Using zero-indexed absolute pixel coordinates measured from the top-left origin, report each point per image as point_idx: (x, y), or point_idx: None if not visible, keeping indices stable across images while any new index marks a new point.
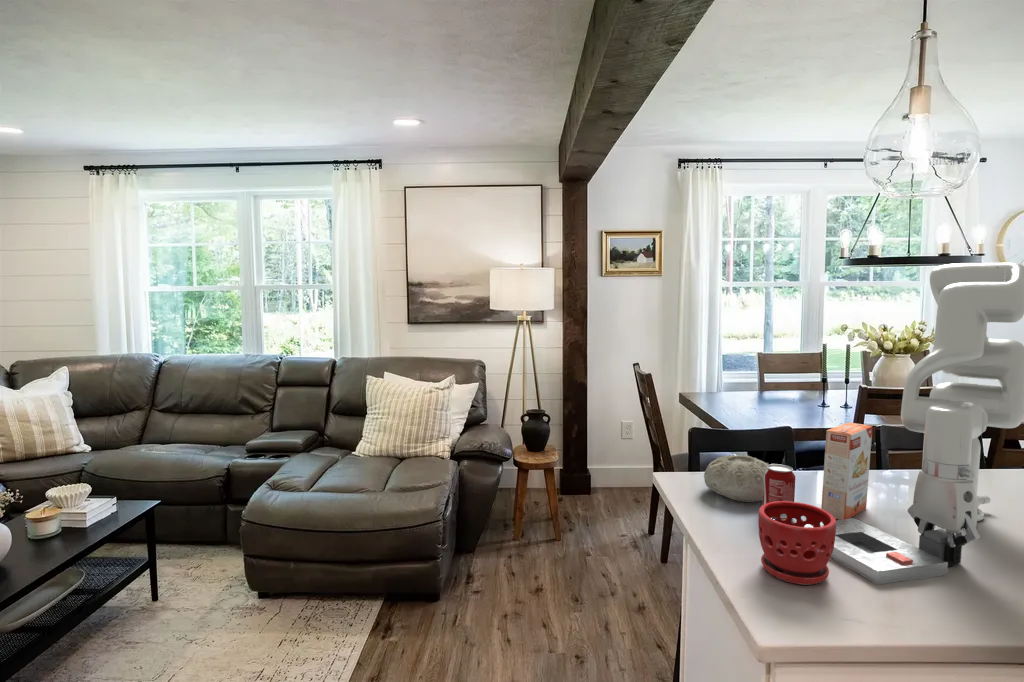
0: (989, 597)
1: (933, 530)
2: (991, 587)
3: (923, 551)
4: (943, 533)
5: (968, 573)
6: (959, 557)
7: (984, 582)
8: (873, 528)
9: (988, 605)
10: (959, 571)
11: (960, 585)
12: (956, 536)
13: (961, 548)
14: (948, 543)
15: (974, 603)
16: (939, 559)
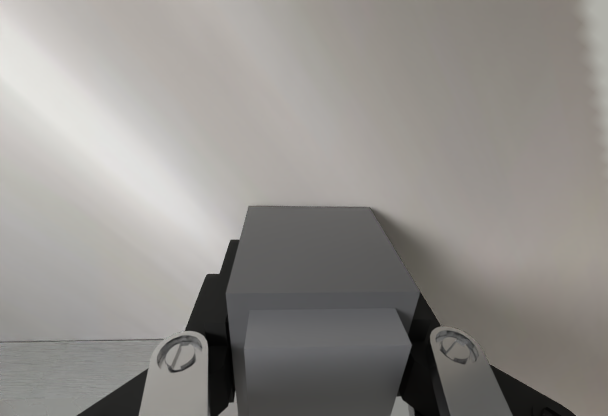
0: (563, 338)
1: (255, 413)
2: (545, 277)
3: None
4: (328, 398)
5: (440, 254)
6: None
7: (513, 265)
8: (9, 409)
9: (574, 374)
10: (411, 272)
11: None
12: (439, 400)
13: (399, 258)
14: (411, 408)
15: (544, 393)
16: (400, 396)
